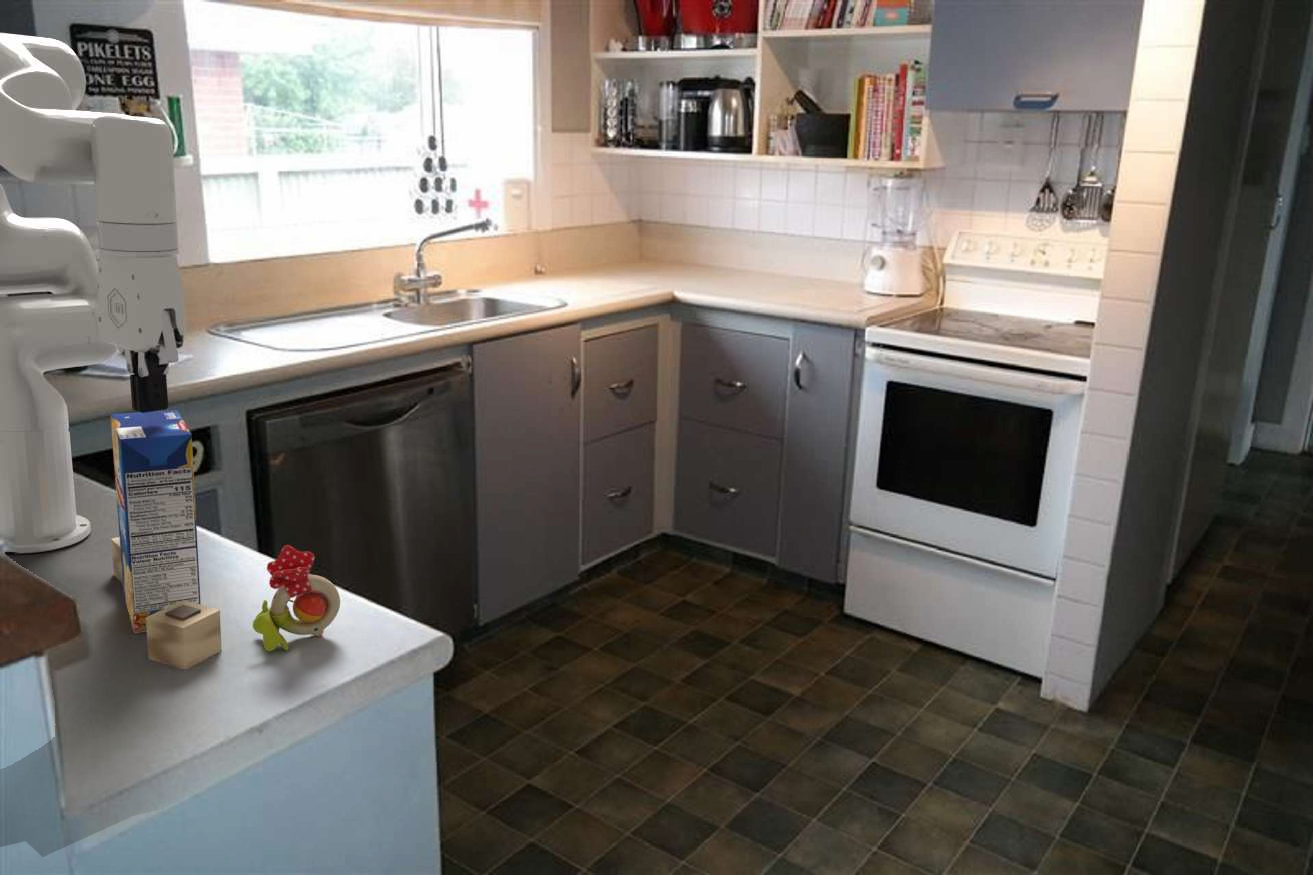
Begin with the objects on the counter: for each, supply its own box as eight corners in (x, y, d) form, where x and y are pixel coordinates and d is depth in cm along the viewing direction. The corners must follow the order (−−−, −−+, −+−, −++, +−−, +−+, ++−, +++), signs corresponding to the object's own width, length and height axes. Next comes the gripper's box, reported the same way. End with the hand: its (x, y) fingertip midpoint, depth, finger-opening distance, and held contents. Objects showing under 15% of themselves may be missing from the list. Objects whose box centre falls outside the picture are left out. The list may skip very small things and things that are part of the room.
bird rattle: (310, 640, 122) (232, 624, 117) (348, 552, 122) (272, 532, 117) (324, 665, 117) (243, 649, 112) (364, 573, 117) (285, 552, 112)
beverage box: (134, 633, 117) (120, 439, 111) (123, 595, 126) (110, 414, 120) (201, 622, 120) (191, 434, 114) (186, 586, 129) (176, 409, 123)
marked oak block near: (148, 659, 112) (145, 614, 110) (185, 640, 116) (183, 597, 115) (185, 670, 110) (182, 625, 109) (221, 651, 114) (219, 607, 113)
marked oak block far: (113, 575, 131) (110, 536, 130) (156, 566, 134) (154, 528, 133) (127, 589, 128) (124, 549, 126) (170, 579, 131) (168, 540, 130)
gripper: (67, 233, 113) (81, 402, 118) (140, 247, 105) (153, 429, 109) (137, 231, 119) (148, 392, 124) (212, 245, 110) (220, 417, 115)
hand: (150, 409), depth 117 cm, fingers closed
